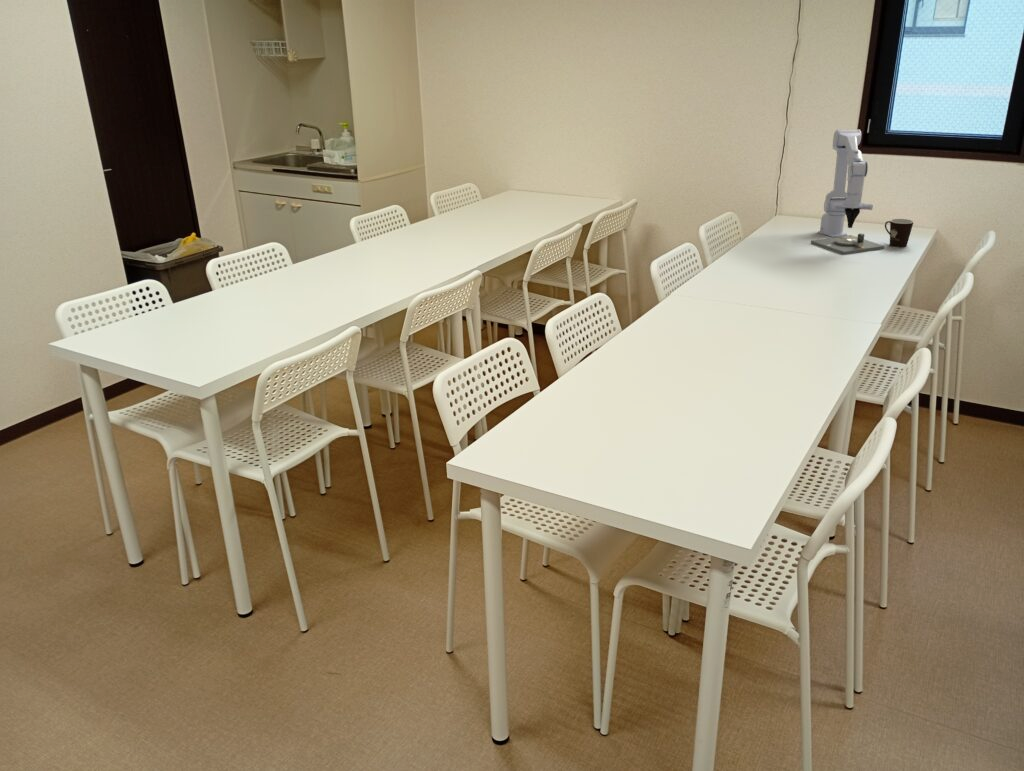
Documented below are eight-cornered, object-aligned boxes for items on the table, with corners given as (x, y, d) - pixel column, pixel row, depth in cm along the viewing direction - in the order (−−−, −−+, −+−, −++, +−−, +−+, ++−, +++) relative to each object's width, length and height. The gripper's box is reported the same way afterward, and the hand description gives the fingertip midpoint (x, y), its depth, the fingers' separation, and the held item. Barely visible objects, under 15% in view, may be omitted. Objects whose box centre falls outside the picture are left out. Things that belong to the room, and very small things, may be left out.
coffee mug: (913, 247, 335) (917, 223, 331) (891, 248, 335) (895, 223, 331) (901, 240, 345) (905, 216, 341) (880, 241, 346) (884, 217, 342)
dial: (829, 241, 343) (830, 229, 341) (848, 238, 346) (850, 226, 344) (851, 249, 332) (853, 236, 329) (871, 245, 335) (873, 233, 333)
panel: (810, 243, 346) (811, 239, 346) (850, 237, 352) (850, 234, 352) (843, 254, 329) (843, 251, 328) (884, 248, 335) (884, 245, 334)
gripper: (836, 195, 324) (831, 229, 329) (875, 195, 320) (870, 230, 326) (834, 191, 330) (829, 225, 335) (873, 191, 327) (868, 225, 332)
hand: (849, 227), depth 331 cm, fingers closed
